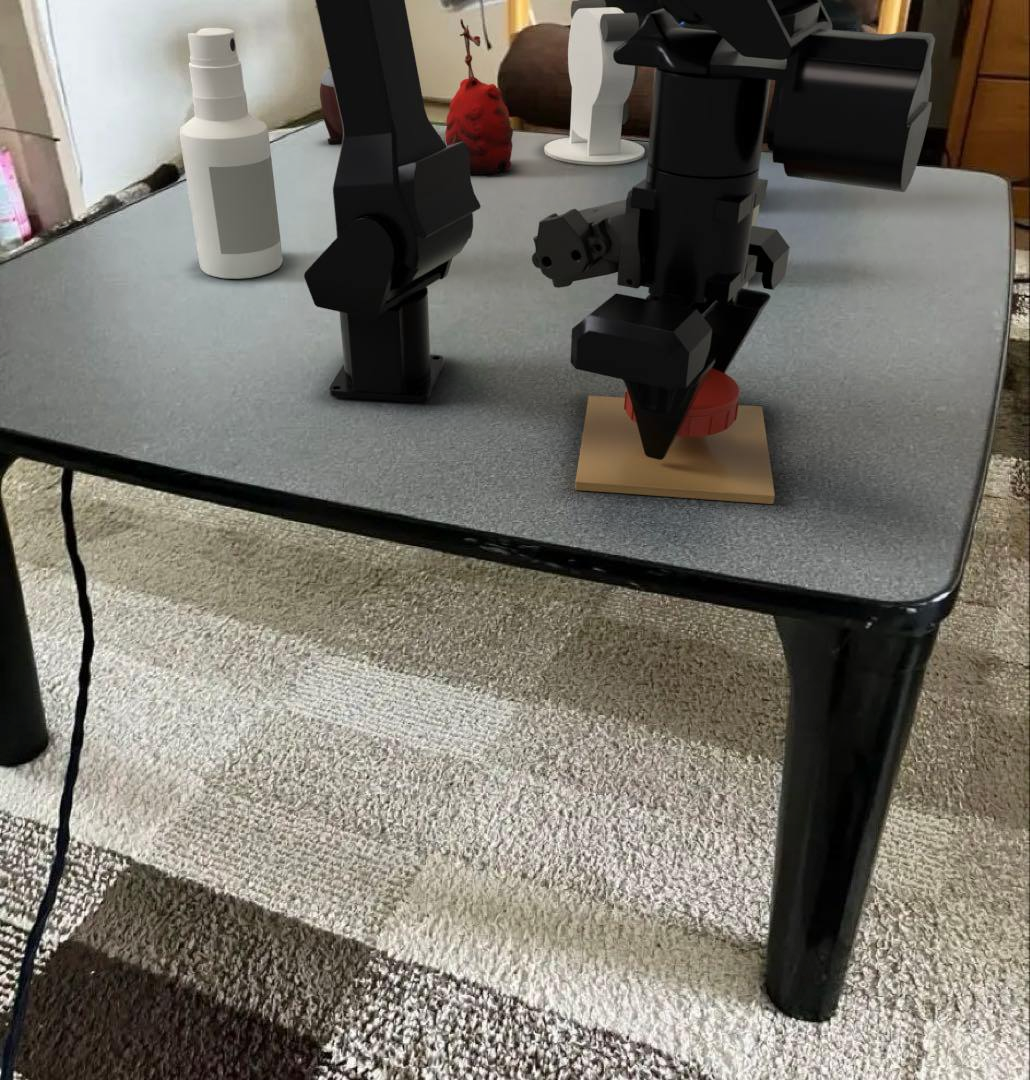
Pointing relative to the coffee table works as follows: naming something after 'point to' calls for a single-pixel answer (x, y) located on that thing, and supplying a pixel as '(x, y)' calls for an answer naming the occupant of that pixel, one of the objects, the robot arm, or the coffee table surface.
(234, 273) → the spray bottle
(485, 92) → the red clay folk toy
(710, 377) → the jar lid
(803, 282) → the coffee table surface
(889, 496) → the coffee table surface
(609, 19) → the white stand
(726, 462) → the coaster
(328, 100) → the mate gourd
